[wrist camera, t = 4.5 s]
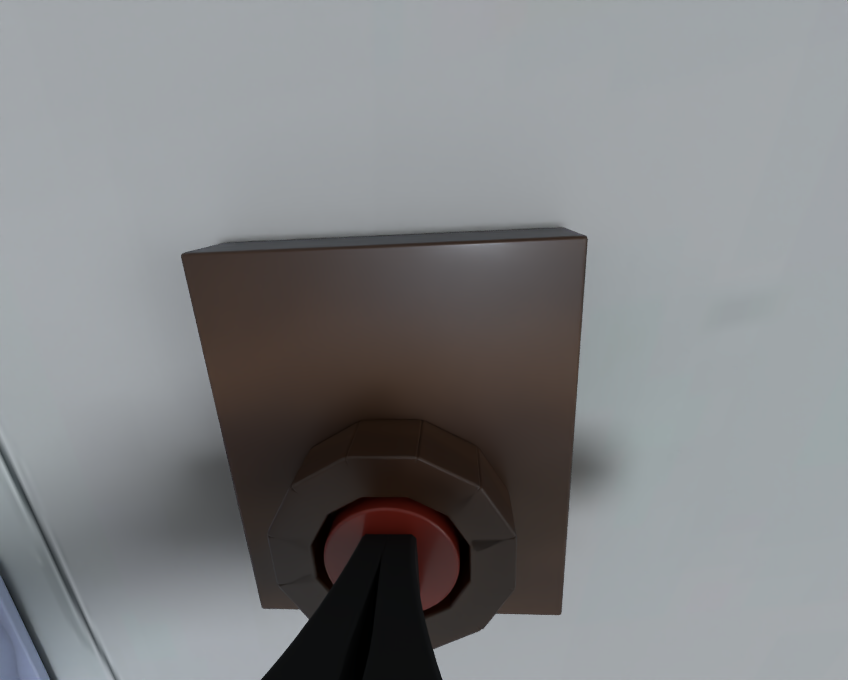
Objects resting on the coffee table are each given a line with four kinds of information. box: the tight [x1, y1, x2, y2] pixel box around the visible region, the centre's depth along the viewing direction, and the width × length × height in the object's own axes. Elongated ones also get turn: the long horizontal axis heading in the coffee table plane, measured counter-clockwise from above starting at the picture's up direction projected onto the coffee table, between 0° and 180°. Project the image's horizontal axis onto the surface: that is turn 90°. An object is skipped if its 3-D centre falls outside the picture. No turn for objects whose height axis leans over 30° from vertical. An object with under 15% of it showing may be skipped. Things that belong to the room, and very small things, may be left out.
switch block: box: [181, 228, 588, 649], centre depth 13 cm, size 12×10×4 cm
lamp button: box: [324, 497, 460, 610], centre depth 12 cm, size 4×4×2 cm
